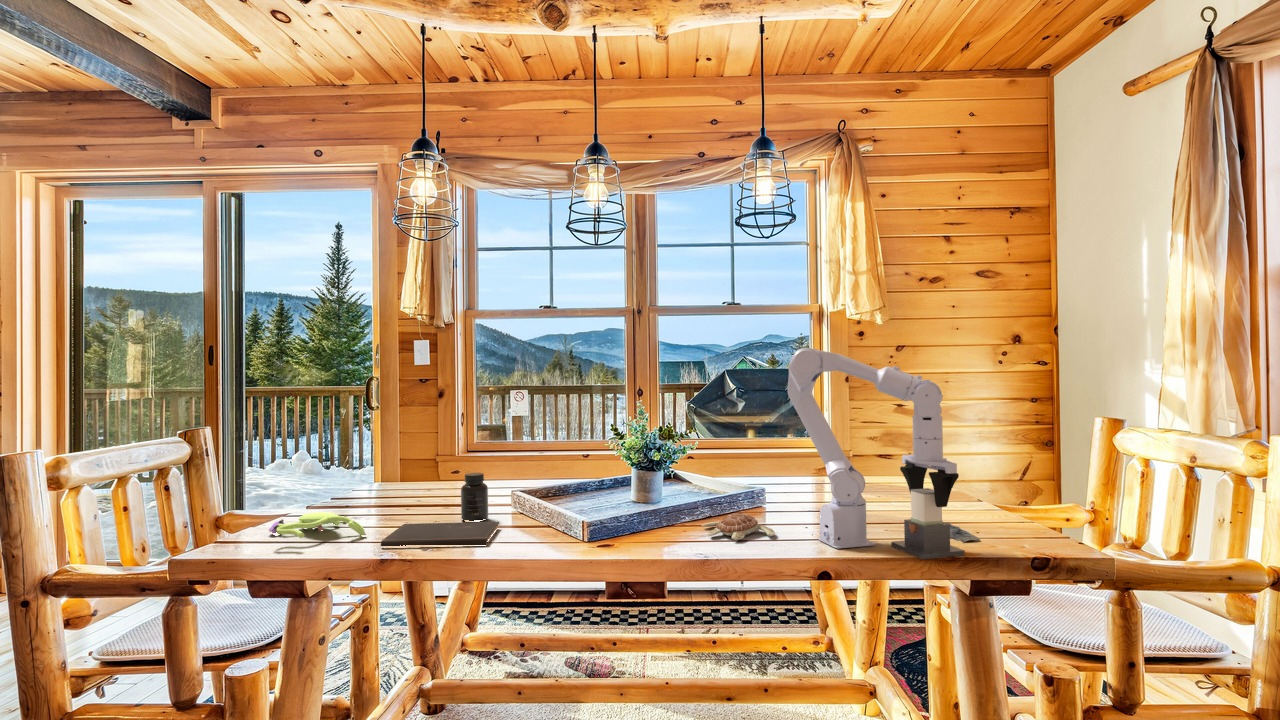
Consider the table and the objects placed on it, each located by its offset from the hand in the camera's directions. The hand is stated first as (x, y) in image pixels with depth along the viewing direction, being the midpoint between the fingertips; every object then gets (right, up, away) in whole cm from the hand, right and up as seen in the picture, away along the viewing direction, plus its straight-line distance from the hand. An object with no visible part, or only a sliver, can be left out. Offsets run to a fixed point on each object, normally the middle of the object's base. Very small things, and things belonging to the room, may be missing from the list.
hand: (928, 503), depth 135 cm
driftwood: (+12, -11, +16) cm, 23 cm away
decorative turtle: (-38, -11, +16) cm, 42 cm away
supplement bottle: (-104, -12, +33) cm, 109 cm away
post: (-1, -6, 0) cm, 6 cm away
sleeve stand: (-1, -10, 0) cm, 10 cm away
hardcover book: (-106, -12, +15) cm, 108 cm away
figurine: (-138, -13, +19) cm, 139 cm away
